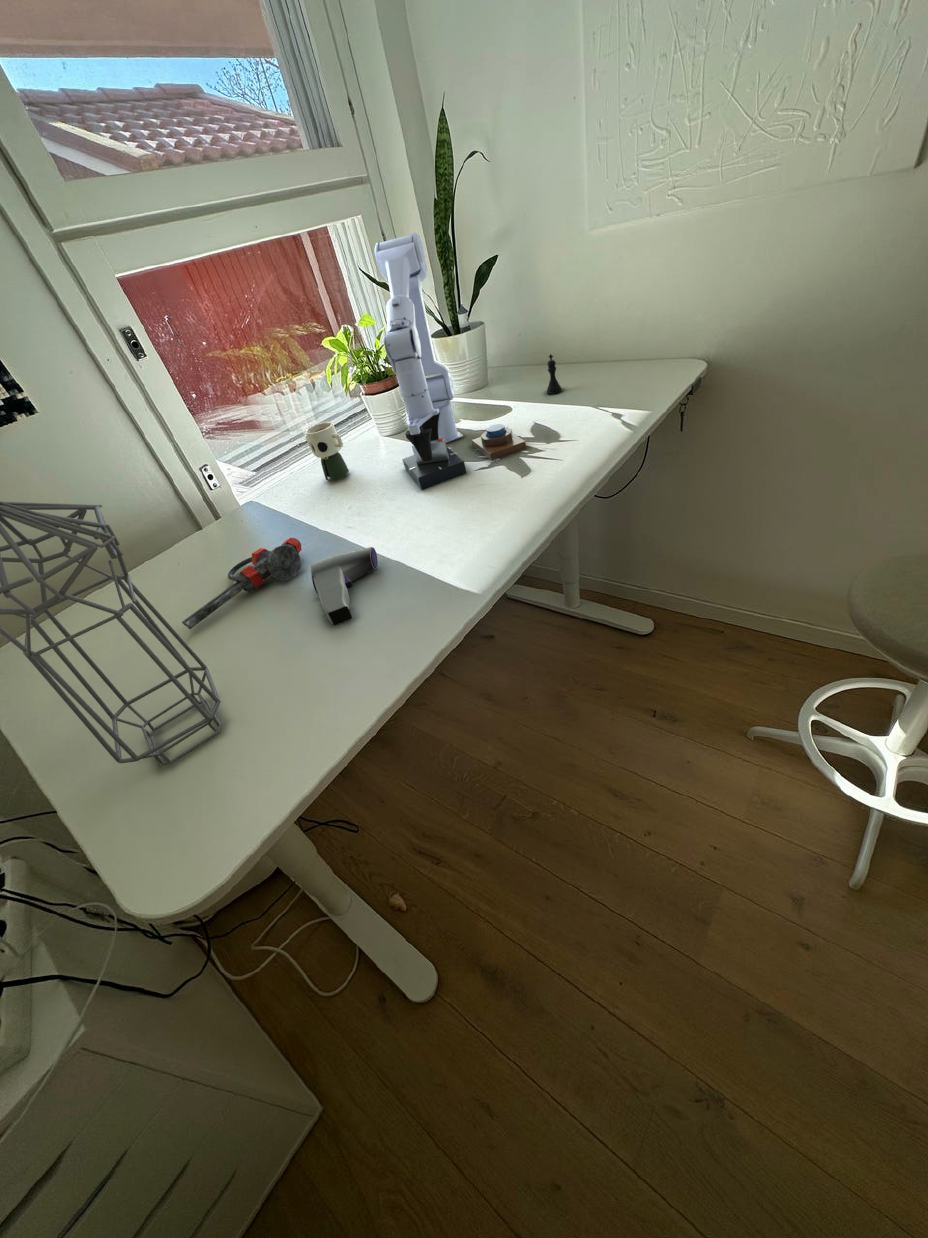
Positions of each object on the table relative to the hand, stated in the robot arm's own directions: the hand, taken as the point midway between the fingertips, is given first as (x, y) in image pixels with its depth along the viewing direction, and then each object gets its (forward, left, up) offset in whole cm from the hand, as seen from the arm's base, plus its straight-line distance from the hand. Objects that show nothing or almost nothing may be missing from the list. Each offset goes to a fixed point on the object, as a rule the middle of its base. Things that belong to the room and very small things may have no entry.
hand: (431, 453), depth 118 cm
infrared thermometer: (+36, -27, -5) cm, 45 cm away
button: (-2, +17, -2) cm, 17 cm away
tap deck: (-1, 0, -5) cm, 5 cm away
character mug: (-19, -21, -5) cm, 29 cm away
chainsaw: (+20, -46, -5) cm, 50 cm away
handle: (0, 0, -2) cm, 2 cm away
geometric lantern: (+54, -55, -5) cm, 77 cm away
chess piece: (-26, +45, -5) cm, 52 cm away
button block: (-2, +17, -5) cm, 18 cm away
